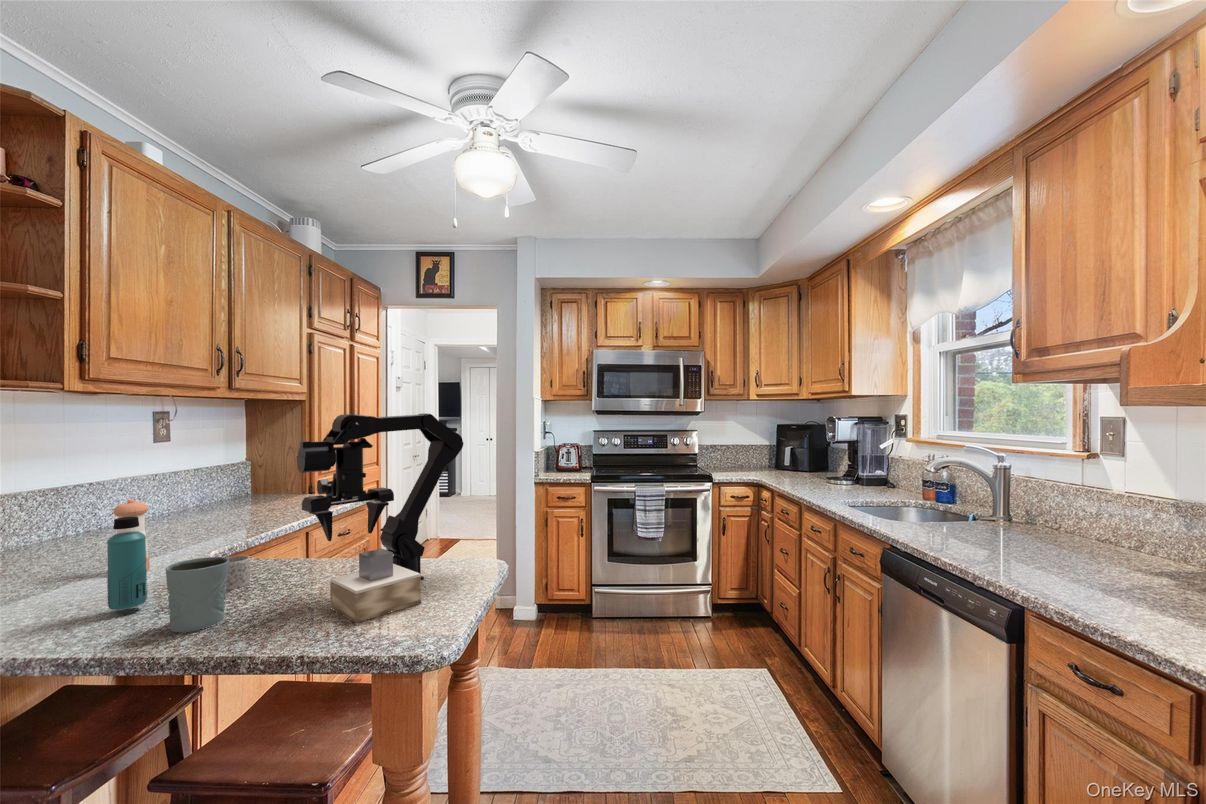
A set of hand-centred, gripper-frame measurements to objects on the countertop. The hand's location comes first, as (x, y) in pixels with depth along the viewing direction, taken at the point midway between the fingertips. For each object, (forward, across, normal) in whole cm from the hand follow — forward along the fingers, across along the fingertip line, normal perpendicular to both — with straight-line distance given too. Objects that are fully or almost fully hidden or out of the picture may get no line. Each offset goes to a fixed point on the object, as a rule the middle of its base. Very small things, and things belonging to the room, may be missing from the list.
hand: (350, 537), depth 124 cm
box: (+13, 0, +12) cm, 18 cm away
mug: (+13, +17, -27) cm, 35 cm away
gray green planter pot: (+13, +27, -7) cm, 31 cm away
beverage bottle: (+13, +35, -27) cm, 46 cm away
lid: (+7, 0, +12) cm, 14 cm away
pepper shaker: (+13, +29, -64) cm, 72 cm away
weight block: (+7, 0, +12) cm, 14 cm away
